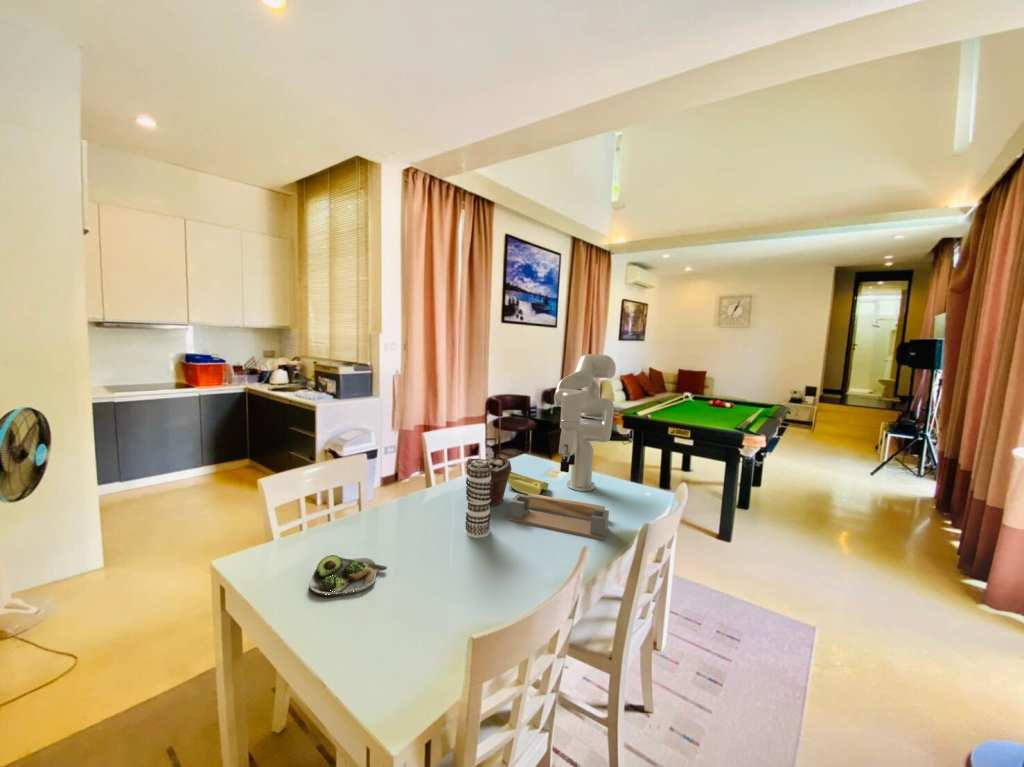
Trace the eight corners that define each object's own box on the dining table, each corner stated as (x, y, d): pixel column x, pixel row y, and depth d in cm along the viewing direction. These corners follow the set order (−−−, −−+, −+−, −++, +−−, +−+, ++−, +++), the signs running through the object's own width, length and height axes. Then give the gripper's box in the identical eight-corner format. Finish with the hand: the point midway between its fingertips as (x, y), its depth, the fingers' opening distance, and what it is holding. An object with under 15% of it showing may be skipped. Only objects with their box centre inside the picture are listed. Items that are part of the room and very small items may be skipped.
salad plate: (388, 558, 127) (388, 543, 126) (384, 594, 110) (384, 578, 109) (319, 563, 122) (319, 548, 122) (304, 602, 105) (304, 584, 105)
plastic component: (550, 484, 187) (542, 481, 179) (545, 500, 186) (537, 498, 177) (512, 472, 197) (503, 468, 188) (507, 487, 195) (498, 484, 187)
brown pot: (519, 497, 176) (520, 456, 174) (492, 514, 160) (493, 468, 158) (485, 488, 186) (486, 449, 184) (456, 502, 169) (456, 460, 167)
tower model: (458, 533, 143) (460, 463, 140) (473, 523, 151) (475, 456, 148) (481, 541, 139) (484, 468, 136) (495, 529, 147) (498, 461, 144)
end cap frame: (517, 510, 164) (518, 492, 163) (608, 528, 152) (609, 509, 151) (508, 520, 155) (509, 502, 154) (603, 540, 143) (605, 520, 142)
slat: (529, 505, 170) (529, 493, 169) (604, 518, 160) (605, 506, 160) (527, 508, 167) (527, 496, 166) (603, 522, 158) (604, 509, 157)
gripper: (565, 419, 169) (563, 460, 171) (554, 427, 152) (552, 473, 155) (584, 421, 166) (581, 463, 168) (575, 430, 150) (572, 476, 152)
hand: (567, 467), depth 161 cm, fingers open, 9 cm apart
